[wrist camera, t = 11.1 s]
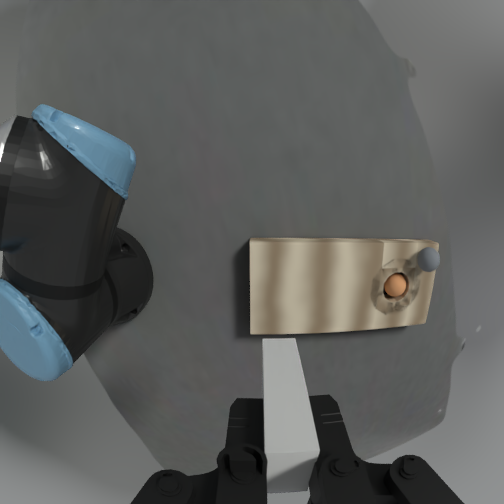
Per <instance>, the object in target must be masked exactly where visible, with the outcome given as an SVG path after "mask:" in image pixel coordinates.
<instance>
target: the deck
mask: <svg viewBox="0 0 504 504" xmlns="http://www.w3.org/2000/svg"><path fill="white" fill-rule="evenodd" d="M426 247H431V248H434V249H435V250H436V251H437V252H438V247H439V243H436V242H433V241H431V240H414V239H356V238H250V334H304V333H327V332H344V331H358V330H370V329H381V328H390V327H400V326H408V325H416V324H423V323H425V322H426V318H427V313H428V309H429V304H430V299H431V294H432V288H433V283H434V277H435V270H436V269H435V270H434V271H432V272H425V271H423V270H422V269H421V268H420V267H419V265H418V262H417V258H418V254H419V252H420V251H421V250H422V249H424V248H426ZM396 272H399V273H400V274H401V275H402V276H403V277H404V278H405V280H406V289H405V291H404V292H403V293H402V294H401V295H400V296H397V297H393V296H390V295H384V294H383V287H384V283H385V281H386V280H387V278H388V277H389V276H391V275H392V274H394V273H396Z"/></svg>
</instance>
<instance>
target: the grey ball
mask: <svg viewBox="0 0 504 504" xmlns="http://www.w3.org/2000/svg"><path fill="white" fill-rule="evenodd" d="M417 262H418V265H419V267H420V268H421V269H422V270H423V271H425V272H432V271H434V270H435V269H436V268H437V267H438V265H439V263H440V256H439V254H438V252H437V251H436V250H435V249H434V248H431V247H426V248H424V249H422V250H421V251H420V252H419V254H418V258H417Z"/></svg>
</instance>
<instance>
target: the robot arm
mask: <svg viewBox="0 0 504 504" xmlns="http://www.w3.org/2000/svg"><path fill="white" fill-rule="evenodd" d="M31 116H32V118H26V117H22V116H18V115H13V116H12V117H11V118H9V119H7V120H6V121H5V122H3V123H2V124H0V251H3V265H2V276H1V278H0V347H1V349H2V350H3V352H4V353H5V354H6V355H7V357H8V358H9V359H10V360H11V361H12V362H13V363H14V364H15V365H16V366H17V367H18V368H19V369H21V370H22V371H23V372H24V373H26V374H27V375H29V376H31V377H32V378H35V379H37V380H40V381H53V380H55V379H57V378H58V377H59V376H61V375H62V374H63V373H64V372H66V371H67V370H69V369H70V368H71V367H72V366H73V363H74V362H75V361H76V360H77V359H78V358H79V357H80V356H81V355H82V354H83V353H84V352H85V351H86V350H87V349H88V347H89V346H90V345H91V344H92V343H93V342H94V341H95V340H96V339H97V338H98V337H99V336H100V335H101V334H102V333H103V332H104V331H105V330H106V329H107V328H108V327H109V326H112V325H116V324H119V323H123V322H126V321H129V320H131V319H132V318H134V317H135V316H137V315H138V314H139V313H140V312H141V310H142V309H143V308H144V307H145V306H146V305H147V303H148V301H149V299H150V297H151V294H152V289H153V272H152V267H151V264H150V261H149V258H148V256H147V254H146V252H145V251H144V249H143V247H142V246H141V245H140V243H139V242H138V241H137V240H136V239H135V238H134V237H133V236H131V235H130V234H129V233H127V232H125V231H124V230H122V229H119V228H117V224H118V221H119V218H120V215H121V212H122V209H123V206H124V203H125V200H127V199H128V193H127V192H128V188H129V185H130V182H131V179H132V175H133V172H134V169H135V166H136V156H135V153H134V151H133V149H132V148H131V147H130V146H129V145H128V144H127V143H125V142H123V141H122V140H120V139H118V138H116V137H115V136H113V135H111V134H109V133H107V132H105V131H103V130H101V129H99V128H97V127H95V126H93V125H91V124H89V123H87V122H85V121H83V120H81V119H78V118H76V117H74V116H72V115H69V114H67V113H64V112H62V111H59V110H57V109H55V108H53V107H50V106H48V105H44V104H41V105H39V106H37V108H36V109H35V110H34V111H33V112H32V115H31ZM217 464H218V468H216V469H215V470H213V471H211V472H209V473H205V474H200V475H193V476H187V475H185V474H183V473H182V472H180V471H176V470H171V469H170V470H161V471H159V472H156V473H154V474H153V475H152V476H151V477H150V478H149V479H148V480H147V482H146V483H145V485H144V486H143V487H142V489H141V490H140V491H139V493H138V494H137V496H136V497H135V498H134V500H133V501H132V502H131V504H267V493H285V492H300V491H307V489H308V487H309V489H310V498H309V501H308V503H307V504H464V503H463V502H462V501H461V500H460V499H459V498H458V496H457V495H456V494H455V493H454V492H453V491H452V490H451V489H450V488H449V487H448V485H447V484H445V482H444V481H443V480H442V479H441V478H440V477H439V476H438V474H436V472H435V471H434V470H433V469H432V468H431V467H430V466H429V465H428V464H427V462H426V461H425V460H423V459H422V458H421V457H418V456H415V455H405V456H402V457H399V458H397V459H396V460H395V461H394V462H393V463H392V464H374V463H368V462H366V461H363V460H361V458H359V457H358V456H356V455H355V453H354V451H353V449H352V446H351V443H350V440H349V437H348V434H347V431H346V428H345V425H344V422H343V418H342V415H341V414H340V409H339V406H338V403H337V402H336V401H335V400H334V399H333V398H332V397H331V396H330V395H318V396H308V392H307V388H306V383H305V379H304V374H303V370H302V366H301V361H300V357H299V353H298V348H297V344H296V340H295V338H283V339H263V347H262V399H253V398H237V399H236V400H235V401H234V403H233V404H232V405H231V407H230V413H229V421H228V429H227V437H226V445H225V448H224V449H223V450H222V451H221V452H220V453H219V455H218V457H217Z"/></svg>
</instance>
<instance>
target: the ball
mask: <svg viewBox="0 0 504 504" xmlns="http://www.w3.org/2000/svg"><path fill="white" fill-rule="evenodd" d="M384 288H385V291H386V292H387V294H388V295H390V296H393V297H397V296H400V295H401V294H402V293H403V292H404V291H405V289H406V280H405V278H404V277H403V276H402V275H401V274H398V273H394V274H392V275H391V276H389V277H388V278H387V280H386V281H385V283H384Z"/></svg>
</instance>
